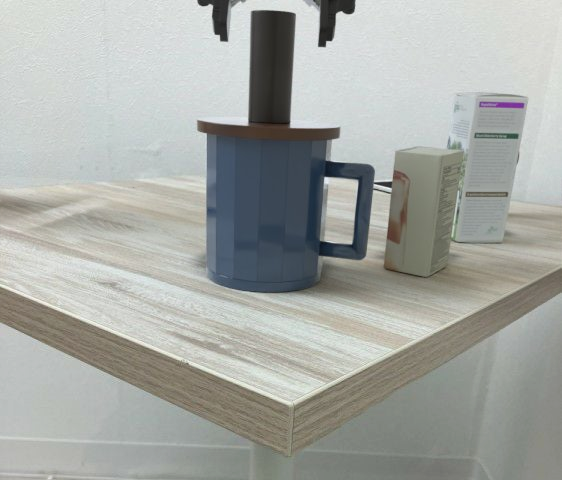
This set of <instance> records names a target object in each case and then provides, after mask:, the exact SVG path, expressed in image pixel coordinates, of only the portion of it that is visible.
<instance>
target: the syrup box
mask: <svg viewBox="0 0 562 480" xmlns="http://www.w3.org/2000/svg"><path fill="white" fill-rule="evenodd" d="M528 103H529V96H526V95H521V94H517V93H514V94H513V93H503V92H501V93H500V92H482V91H481V92H480V91H479V92H478V91H477V92H476V91H475V92H473V91H472V92H455V93H454V95H453V101H452V108H451V115H450V123H449V130H448V138H447V145H446V149H454V150H464V153H463V160H462V168H461V174H460V181H459V188H458V195H457V202H456V208H455V215H454V222H453V229H452V236H451V241H453V242H457V243H469V244H470V243H471V244H474V243H475V244H489V243H491V244H492V243H493V244H494V243H503V241H504V238H505V232H506V227H507V221H508V216H509V211H510V204H511V198H512V194H513V188H514V183H515V176H516V171H517V166H518V163H517V160H518V154H519V155H520V147H521V142H522V137H523V130H524V125H525V120H526V114H527V108H528ZM518 161H519V160H518ZM516 165H517V166H516Z"/></svg>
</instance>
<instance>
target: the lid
mask: <svg viewBox="0 0 562 480" xmlns="http://www.w3.org/2000/svg"><path fill="white" fill-rule="evenodd" d="M249 19H250V23H249V24H250V26H249V28H250V29H249V58H248V59H249V60H248V61H249V64H248V65H249V67H248V102H247V103H248V107H247V116H206V117H205V116H203V117H198V118H197V119H196V131H197V132H199V133H202V134H205V135H206V134H212V135H219V136H227V137H238V138H250V139H266V140H294V141H316V140H332V141H334V140H337V139H340V138H341V133H342V126H341V125H339V124H336V123H331V122H326V121H325V122H323V121H315V120H304V119H292V101H293V83H294V64H295V63H294V62H295V61H294V60H295V44H296V42H295V41H296V26H297V25H296V21H297V14H296V13H295V12H291V11H286V10H274V9H254V10H251V11H250V18H249Z"/></svg>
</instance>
